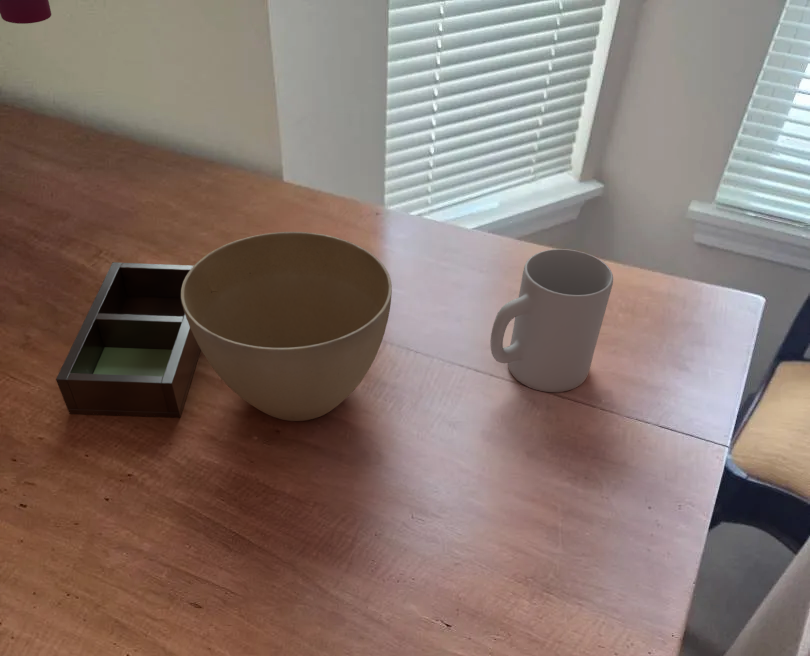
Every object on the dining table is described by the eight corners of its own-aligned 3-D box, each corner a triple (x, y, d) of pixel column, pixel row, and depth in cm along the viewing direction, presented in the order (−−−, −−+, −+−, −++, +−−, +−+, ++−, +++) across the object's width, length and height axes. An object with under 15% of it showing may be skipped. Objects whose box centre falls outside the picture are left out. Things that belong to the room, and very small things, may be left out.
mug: (555, 334, 82) (577, 240, 74) (605, 378, 78) (633, 283, 69) (463, 365, 78) (474, 268, 70) (509, 413, 74) (527, 316, 65)
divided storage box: (69, 413, 71) (55, 379, 68) (122, 295, 84) (112, 262, 81) (180, 417, 71) (171, 383, 68) (216, 299, 84) (210, 265, 81)
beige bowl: (219, 337, 80) (199, 228, 70) (389, 342, 80) (392, 234, 71) (190, 456, 68) (161, 344, 59) (388, 460, 69) (391, 350, 59)
